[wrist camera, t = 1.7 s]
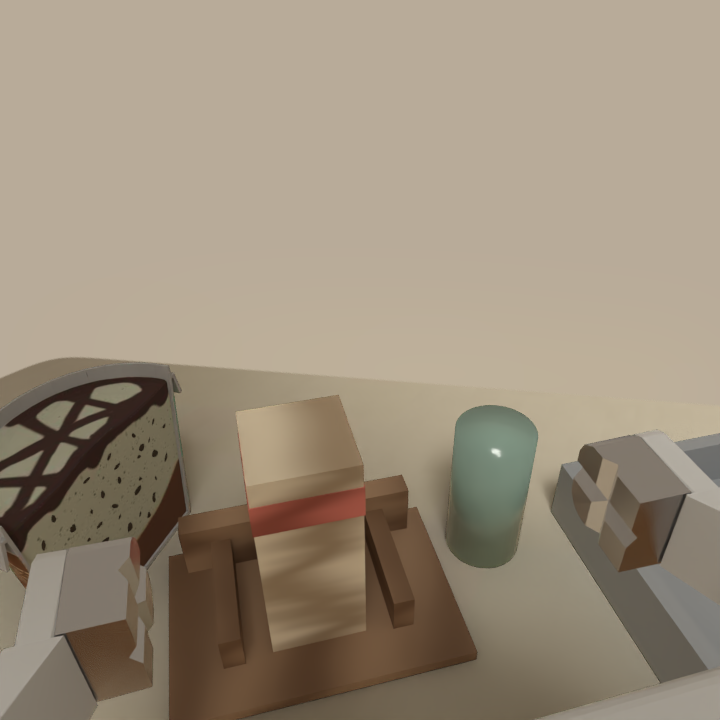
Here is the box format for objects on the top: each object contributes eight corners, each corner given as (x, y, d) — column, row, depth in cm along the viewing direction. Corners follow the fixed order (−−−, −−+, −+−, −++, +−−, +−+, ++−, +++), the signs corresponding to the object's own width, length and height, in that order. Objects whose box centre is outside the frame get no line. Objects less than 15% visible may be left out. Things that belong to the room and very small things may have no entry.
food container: (120, 470, 41) (78, 338, 35) (204, 494, 39) (174, 359, 34) (-37, 639, 32) (-129, 497, 26) (63, 680, 30) (-11, 538, 24)
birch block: (272, 653, 30) (244, 487, 24) (260, 573, 34) (234, 411, 27) (367, 631, 31) (364, 465, 25) (346, 555, 35) (339, 393, 28)
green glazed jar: (460, 575, 34) (473, 466, 30) (435, 518, 37) (443, 412, 33) (529, 559, 35) (553, 450, 30) (499, 505, 38) (516, 399, 34)
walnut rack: (171, 735, 28) (155, 692, 26) (171, 563, 35) (158, 518, 33) (476, 659, 30) (483, 613, 28) (416, 513, 38) (418, 469, 36)
